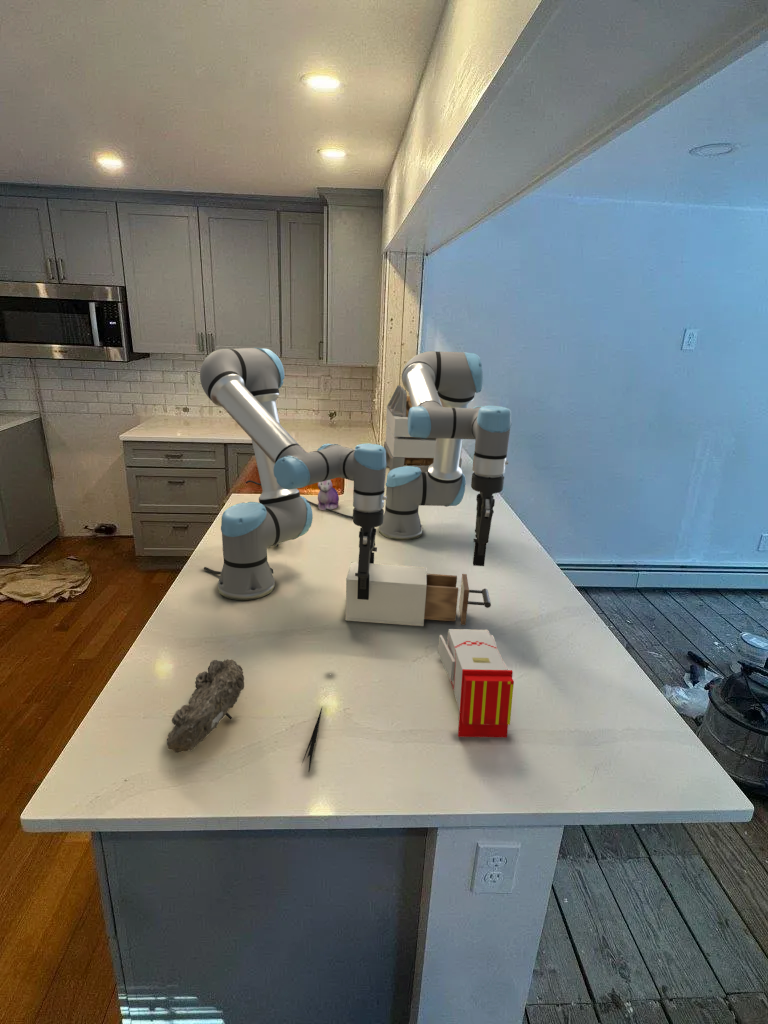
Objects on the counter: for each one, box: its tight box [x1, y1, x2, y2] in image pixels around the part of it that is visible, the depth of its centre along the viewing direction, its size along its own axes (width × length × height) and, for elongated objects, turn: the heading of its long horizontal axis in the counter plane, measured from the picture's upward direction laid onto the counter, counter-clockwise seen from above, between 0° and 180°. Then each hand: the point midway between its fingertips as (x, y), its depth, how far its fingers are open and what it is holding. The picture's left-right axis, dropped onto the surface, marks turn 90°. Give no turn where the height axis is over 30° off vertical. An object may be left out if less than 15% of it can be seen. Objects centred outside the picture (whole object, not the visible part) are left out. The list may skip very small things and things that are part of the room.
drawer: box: [424, 573, 492, 626], centre depth 145 cm, size 24×9×10 cm, turn 86°
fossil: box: [166, 658, 245, 754], centre depth 106 cm, size 22×10×15 cm
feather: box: [301, 673, 332, 771], centre depth 108 cm, size 2×28×2 cm
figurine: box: [317, 479, 340, 511], centre depth 220 cm, size 9×10×15 cm
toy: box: [437, 628, 515, 738], centre depth 117 cm, size 12×13×30 cm
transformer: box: [383, 384, 464, 471], centre depth 268 cm, size 34×33×41 cm
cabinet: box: [345, 561, 428, 627], centre depth 146 cm, size 20×10×12 cm, turn 86°
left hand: (365, 586), depth 145 cm, fingers open, 13 cm apart
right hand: (478, 564), depth 141 cm, fingers closed
